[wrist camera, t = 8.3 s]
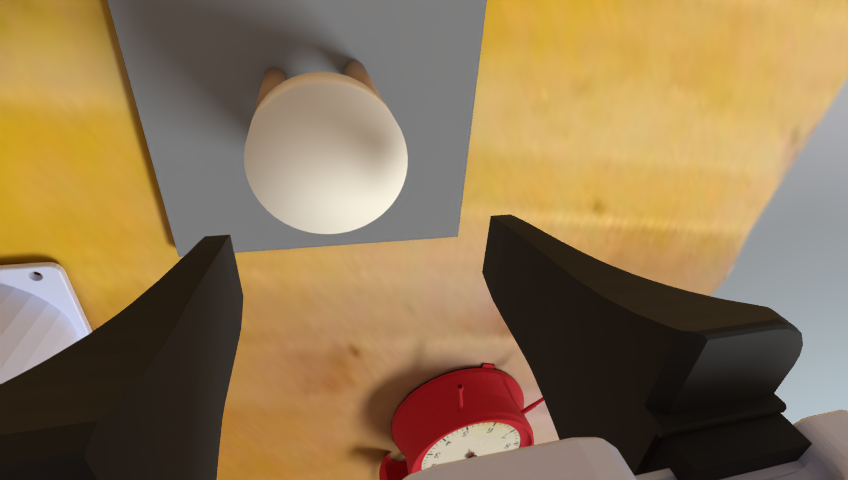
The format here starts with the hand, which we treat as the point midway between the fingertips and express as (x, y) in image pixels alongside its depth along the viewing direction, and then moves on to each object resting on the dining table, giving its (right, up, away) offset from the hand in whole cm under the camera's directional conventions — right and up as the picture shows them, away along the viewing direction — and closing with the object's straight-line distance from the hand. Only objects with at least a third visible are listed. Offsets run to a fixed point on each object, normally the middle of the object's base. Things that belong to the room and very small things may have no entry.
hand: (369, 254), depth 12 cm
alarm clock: (+3, -14, +23) cm, 27 cm away
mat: (-3, +6, +7) cm, 10 cm away
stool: (-3, +6, +7) cm, 9 cm away
